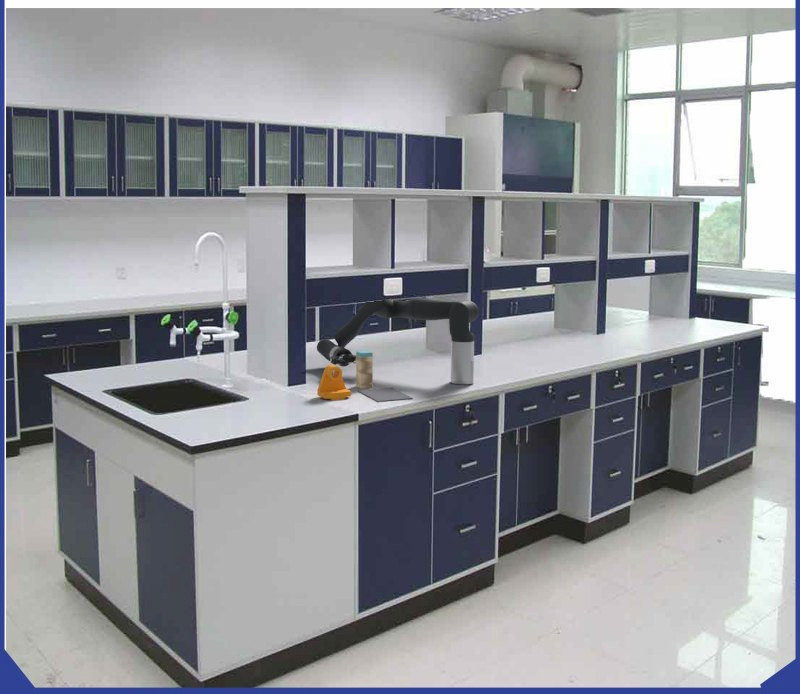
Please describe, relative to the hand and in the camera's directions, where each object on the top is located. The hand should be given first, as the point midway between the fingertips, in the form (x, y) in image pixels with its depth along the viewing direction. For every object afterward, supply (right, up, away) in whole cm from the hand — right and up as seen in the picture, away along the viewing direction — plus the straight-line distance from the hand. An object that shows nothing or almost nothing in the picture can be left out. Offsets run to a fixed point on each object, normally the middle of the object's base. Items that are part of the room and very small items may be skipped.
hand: (354, 362), depth 352 cm
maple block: (+4, -9, -9) cm, 14 cm away
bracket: (-6, -13, -29) cm, 32 cm away
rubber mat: (+13, -12, -24) cm, 30 cm away
